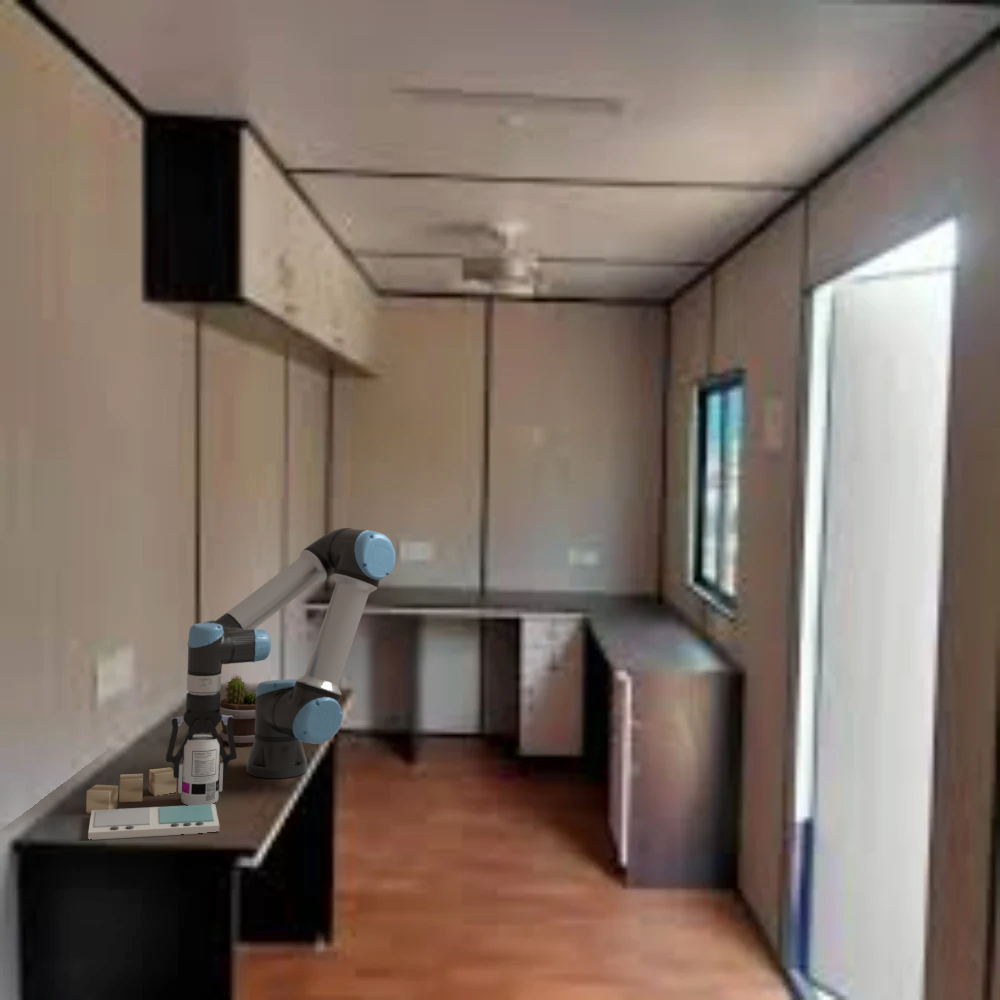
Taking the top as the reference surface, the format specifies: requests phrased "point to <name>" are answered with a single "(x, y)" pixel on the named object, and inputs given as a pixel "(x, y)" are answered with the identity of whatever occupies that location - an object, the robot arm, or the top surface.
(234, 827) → the top surface
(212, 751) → the supplement can
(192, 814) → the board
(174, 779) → the maple block
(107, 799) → the maple block
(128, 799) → the maple block
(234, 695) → the flowerpot
